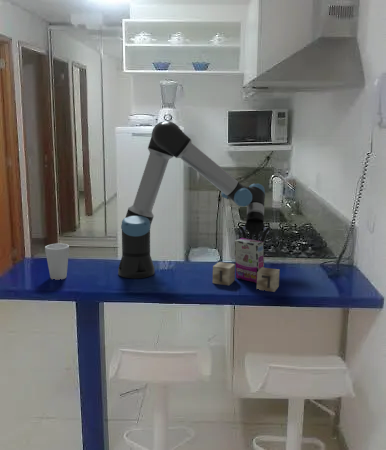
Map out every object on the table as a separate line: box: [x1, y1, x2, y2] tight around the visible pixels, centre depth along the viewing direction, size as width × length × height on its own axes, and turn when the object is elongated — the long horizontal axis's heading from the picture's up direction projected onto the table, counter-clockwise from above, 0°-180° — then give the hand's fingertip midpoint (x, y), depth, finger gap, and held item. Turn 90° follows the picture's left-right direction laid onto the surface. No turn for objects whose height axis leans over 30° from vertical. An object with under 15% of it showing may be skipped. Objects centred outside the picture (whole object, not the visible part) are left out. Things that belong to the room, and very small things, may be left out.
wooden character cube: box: [212, 261, 236, 286], centre depth 195 cm, size 7×7×7 cm
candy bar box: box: [234, 237, 265, 284], centre depth 196 cm, size 11×5×16 cm, turn 48°
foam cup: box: [44, 243, 70, 281], centre depth 197 cm, size 10×9×13 cm
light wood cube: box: [256, 266, 280, 293], centre depth 188 cm, size 7×7×7 cm
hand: (252, 262), depth 200 cm, fingers closed
